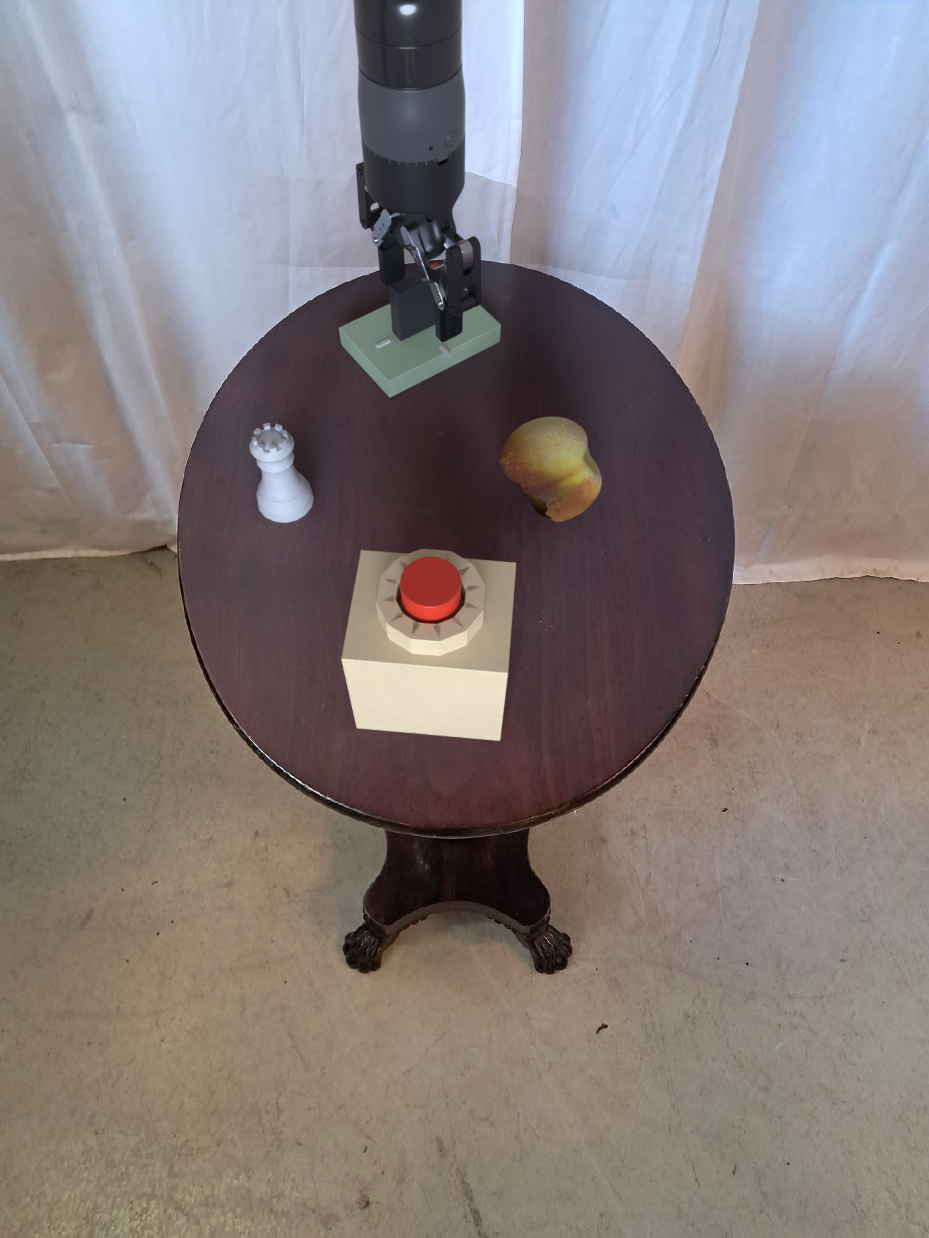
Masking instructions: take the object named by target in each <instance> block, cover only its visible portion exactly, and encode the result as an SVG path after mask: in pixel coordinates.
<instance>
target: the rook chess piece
mask: <svg viewBox="0 0 929 1238" xmlns="http://www.w3.org/2000/svg"><path fill="white" fill-rule="evenodd" d="M262 426H263V428H262V429H260V428H259V427H256V428H255V430H254V431H253V436H251V439H250V442H249V445H248V448H249V452H250V454H251V455H252V456H253V457H254V458H255V461H256V465H257V467H259V469H260V471H261V479H260V482H259V483H258V486H257V489H256V495H255V496H256V500H257V507H258V511H259V512H260V513H261V515H262V516H263V517H265V518H266V519H268V520H270V521H272V522H275V523H281V524H282V523H283V524H288V523H293V522H297V521H298V520H300V519H302V518H303V517H305V516H306V515H307V514H308V513H309V512H310V510H311V509H312V508H313V504H314V500H315V499H314V498H315V497H314V494H313V493H314V492H313V490H312V488H311V485H310V484H311V483H310V482H309V481H308V480H307V479H306V478H305V476H304V475H303V474H302V473H300V472H299V471H298V470H297V468H296V467H295V464H294V461H295V456H294V455H295V454H294V452H293V450H294V447H295V441H294V437H293V436H292V435H291V434H290V433H289V432H288V431H287V429H283V426H282V425H281V424H279V423H275V425H274V427H273V426H271V423H270V422H268V423H263V424H262Z"/></svg>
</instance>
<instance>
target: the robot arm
mask: <svg viewBox="0 0 929 1238" xmlns="http://www.w3.org/2000/svg"><path fill="white" fill-rule="evenodd" d="M352 5H353V7H352V8H353V23H354V24H353V25H354V35H355V45H356V55H357V56H356V58H357V71H358V74H357V75H358V76H357V107H358V108H357V109H358V119H359V129H360V140H361V152H362V161H361V162H359V163H356V164H355V177H356V190H357V205H358V206H357V207H358V218H359V223H360V226H361V228H362V229H364V230H370V231H371V240H372V243H373V245H374V246H375V247H376V248H377V257H378V269H379V270H378V271H379V278H380V282H381V283H383V285H384V286H386V287H389V286H390V285H392V284H394V283H397V282H399V281H401V280H403V279H405V278H406V261H405V260H406V259H405V250H407V251H408V253H409V255H410V256H411V257H412V258H413V260H414V264H415V266H416V269H417V271H418V272H419V274H420V277H421V279H422V281H423V282H426V283H428V284H429V285H430V288H431V290H432V293H433V296H434V299H435V301H436V304H435V328H436V337H437V338H438V339H439V340H440V341H441V342H446V341H448V340H450V339H452V338H454V337H456V336H457V335H459V334H461V333H462V330H463V325H462V324H463V321H462V320H463V313H464V312H466V311H468V310H470V309H472V308H474V307H477V306H479V305H481V306H482V302H483V301H482V300H483V298H482V297H483V296H482V244H481V241H480V240H479V238H478V237H477V236H476V235H473V236H471V237H468V238H463V237H462V235H460V234H459V233H457V225H456V223H455V218H454V213H453V209H454V207H455V205H456V203H457V201H458V200H459V198H460V196H461V195H462V192H463V190H464V188H465V183H466V86H465V78H464V71H463V69H464V68H463V0H352ZM375 204H377V205H378V206H377V207H376V208H374V209H372V206H373V205H375ZM444 252H445V257H444V258H443V259H442V264H439V265H440V266H437V267H435V268H433V269H432V268H431V267H430V266H431V265H430V264H429V263H430V261H432V260H434V259H435V258H439V257H440V256H442V254H443V253H444ZM418 272H417V273H418ZM445 275H447V291H445V292H444V289H443V286H442V284H441V278H442V277H443V276H445Z"/></svg>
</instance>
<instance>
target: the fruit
mask: <svg viewBox="0 0 929 1238" xmlns="http://www.w3.org/2000/svg"><path fill="white" fill-rule="evenodd" d="M588 441H589V439H588V436H587V432H586V430H584V428H583V427H582V426H581V425H580V424H578V423H576V422H575V421H573V420H571V419H569V418H565V417H561V416H543V417H538V418H537V417H536V418H534V419H532V420H530V421H527V422H525V423H523V424H521V425H520V426H519V427H518V428H516V429H515V430H514V431H513V432H512V433H511V434H510V435H509V437H508V438H507V440H506V441H505V443H504V445H503V448H502V449H501V450H500V455H499V460H498V461H499V466H500V468H501V470H502V471H503V473H504V475H505V476H506V477H507V478H508V479H509V480H510V481H512V482H513V483H514V485H516V486H517V488H518V489H519V490H520V491H521V492H522V493H524V494H525V495H527V497H529V498H530V501H531V506H532V507H533V509H534V510H535V511H536V513H537V514H539V515H540V516H542V517H546V518H547V519H548V520H550V521H553V522H555V523H560V522H562V523H563V522H565V521H567V520H571V519H573V518H576V517H577V516H578V515H582V513H584V512H585V511H586V510H588V509H589V507H591V505H592V504H593V503H594V502H595V500H597V498H598V495H599V494H600V491H601V490H602V489H601V488H602V484H603V477H602V474H601V471H600V468H599V466H598V464H597V463H596V461H595V460H594V459H593V457H592V456H591V453H590V449H589V443H588Z"/></svg>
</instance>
